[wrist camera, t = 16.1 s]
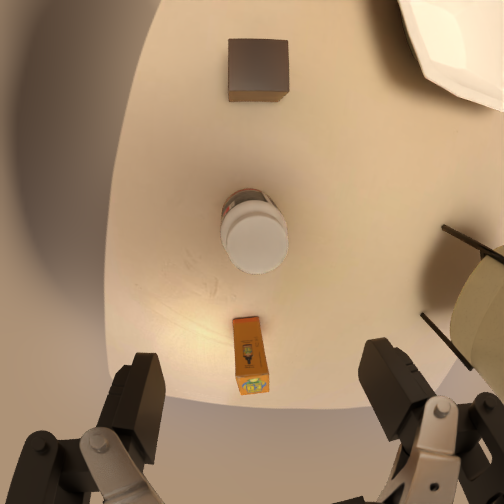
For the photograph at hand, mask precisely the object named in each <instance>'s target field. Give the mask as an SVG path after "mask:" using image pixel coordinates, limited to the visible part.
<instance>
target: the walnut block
mask: <svg viewBox="0 0 504 504" xmlns="http://www.w3.org/2000/svg"><path fill="white" fill-rule="evenodd" d="M228 92H229V102H238V101H262V102H278V101H279V100H281V99H282V98H283V97H284V96H285V95H286V94H287V93H288V92H289V56H288V40H274V39H229V40H228Z"/></svg>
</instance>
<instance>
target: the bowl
mask: <svg viewBox="0 0 504 504" xmlns="http://www.w3.org/2000/svg"><path fill="white" fill-rule="evenodd" d="M398 3H399V6H400V12H401V18H402V24H403V28H404V31H405V35H406V38H407V42H408V44H409V47H410V49H411V52H412V55H413V57H414V58H415V59H416V60H417V61H418V62H419V64H420V67H421V70H422V73H423V75H424V77H425V78H426V79H428V80H429V81H431V82H433V83H435V84H437V85H438V86H440V87H442V88H444V89H445V90H447V91H449V92H450V93H452V94H453V95H455V96H457V97H460V98H463V99H466V100H469V101H472V102H475V103H478V104H481V105H484V106H486V107H489V108H492V109H495V110H498V111H501V112H504V0H398Z"/></svg>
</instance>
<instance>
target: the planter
mask: <svg viewBox="0 0 504 504" xmlns="http://www.w3.org/2000/svg"><path fill="white" fill-rule="evenodd" d="M441 227H442V230H443V231H445V232H447V233H449V234H451V235H452V236H454V237H456V238H458V239H460V240H462V241H464V242H465V243H467V244H469V245H471V246H473V247H474V248H476V249H478V250H480V256H481V262H480V263H479V264H478V265H477V266H476V268H475V269H474V270H473V272H472V273H471V275H470V276H469V278H468V280H467V281H466V283H465V285H464V287H463V288H462V290H461V293H460V295H459V297H458V299H457V302H456V304H455V307H454V310H453V313H452V317H451V322H450V338H451V341H450V340H449V339H448V338H447V337H446V336H445V335H444V334H443V333H442V332H441V331H440V329H439V328H438V327H437V326H436V325H435V324H434V323H433V322H432V321H431V320H430V319H429V318H428V317H427V316H426V315H425V314H424V313H423V312H422V313H421V315H420V316H421V317H422V318H423V319H424V320H425V322H426V323H427V324H428V325H429V326H430V327H431V328H432V329H433V330H434V331H435V332H436V333H437V335H438V336H439V337H440V338H441V339H442V340H443V341H444V342H445V343H446V344H447V346H448V347H449V348H450V349H451V350H452V351H453V352H454V354H455V355H456V356H457V357H458V358H459V359H460V360H461V362H462V363H463V364H464V365H465V366H466V367H467V369H468V370H469V371H471V370H472V369H473V368H475V369H476V371H477V372H478V373H479V374H480V375H481V377H482V378H483V379H484V380H485V381H486V383H487V384H488V385H489V386H490V388H491V389H492V390H493V391H494V392H495V394H496V395H497V396H498V397H499V399H500V400H501V401H502V403H503V404H504V245H503V246H500V247H498V248H496V249H494V250H492V249H490V248H489V247H487V246H485V245H483V244H481V243H479V242H478V241H476V240H474V239H472V238H470V237H468V236H466V235H464V234H462V233H460V232H458V231H456V230H454V229H452V228H450V227H448V226H446V225H443V226H441Z"/></svg>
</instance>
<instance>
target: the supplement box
mask: <svg viewBox="0 0 504 504" xmlns="http://www.w3.org/2000/svg"><path fill="white" fill-rule="evenodd" d="M233 329H234V349H235V370H236V373H235V377H236V381H237V384H238V388H239V391H240V394H241V395H247V394H256V393H264V392H269V372H268V367H267V362H266V356H265V351H264V345H263V340H262V334H261V328H260V322H259V318H258V317H253V318H244V319H234V320H233Z"/></svg>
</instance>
